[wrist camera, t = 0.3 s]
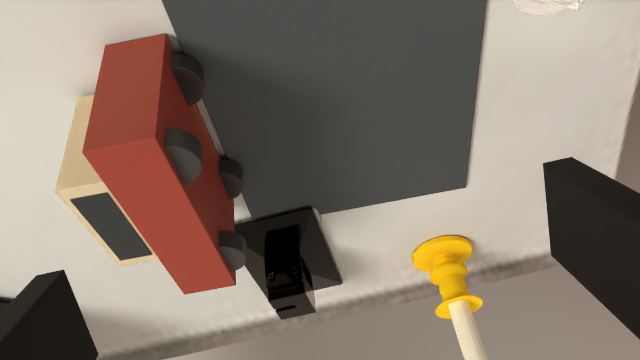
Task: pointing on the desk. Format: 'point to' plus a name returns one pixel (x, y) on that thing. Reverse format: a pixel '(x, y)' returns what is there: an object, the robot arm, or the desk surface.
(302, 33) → the mat
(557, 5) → the flower shoulder figurine
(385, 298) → the desk surface
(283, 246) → the black angular block
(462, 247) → the candle
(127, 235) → the toy car
